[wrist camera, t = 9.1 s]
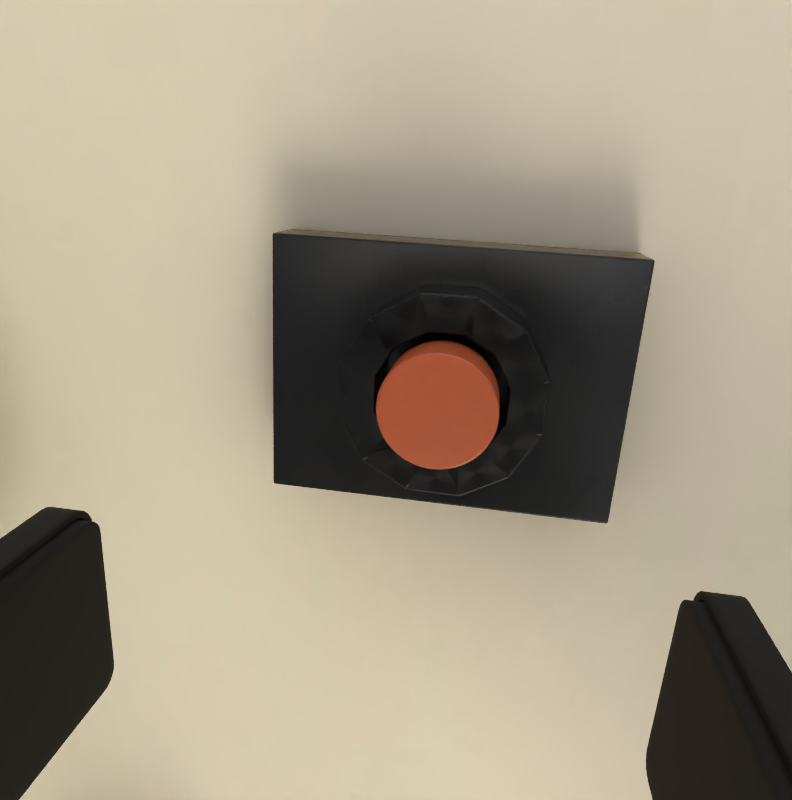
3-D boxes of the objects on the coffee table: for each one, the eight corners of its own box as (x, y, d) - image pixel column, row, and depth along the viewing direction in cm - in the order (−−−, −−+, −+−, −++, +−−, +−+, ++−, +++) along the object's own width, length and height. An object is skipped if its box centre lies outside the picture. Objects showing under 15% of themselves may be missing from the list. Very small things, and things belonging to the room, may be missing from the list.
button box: (640, 252, 22) (669, 266, 18) (598, 495, 24) (616, 551, 21) (292, 228, 23) (251, 236, 19) (291, 460, 26) (255, 506, 22)
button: (505, 344, 20) (506, 359, 18) (493, 454, 21) (492, 477, 19) (388, 334, 20) (378, 347, 18) (382, 442, 21) (372, 463, 20)
